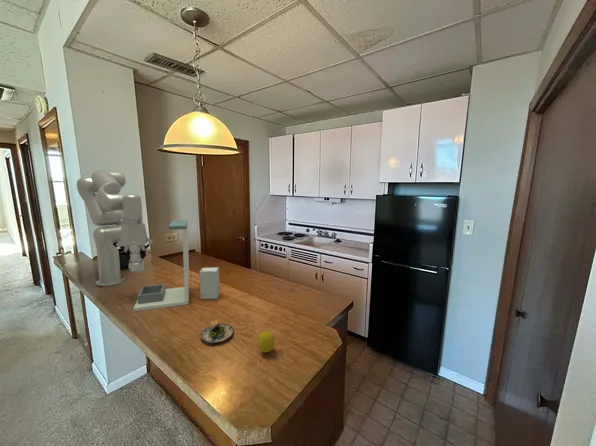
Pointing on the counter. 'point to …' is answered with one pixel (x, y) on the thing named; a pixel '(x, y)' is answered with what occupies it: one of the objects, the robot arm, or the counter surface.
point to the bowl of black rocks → (122, 257)
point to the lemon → (266, 341)
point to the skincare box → (209, 283)
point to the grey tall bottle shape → (135, 257)
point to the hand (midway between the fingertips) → (136, 258)
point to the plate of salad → (216, 333)
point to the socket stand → (157, 293)
